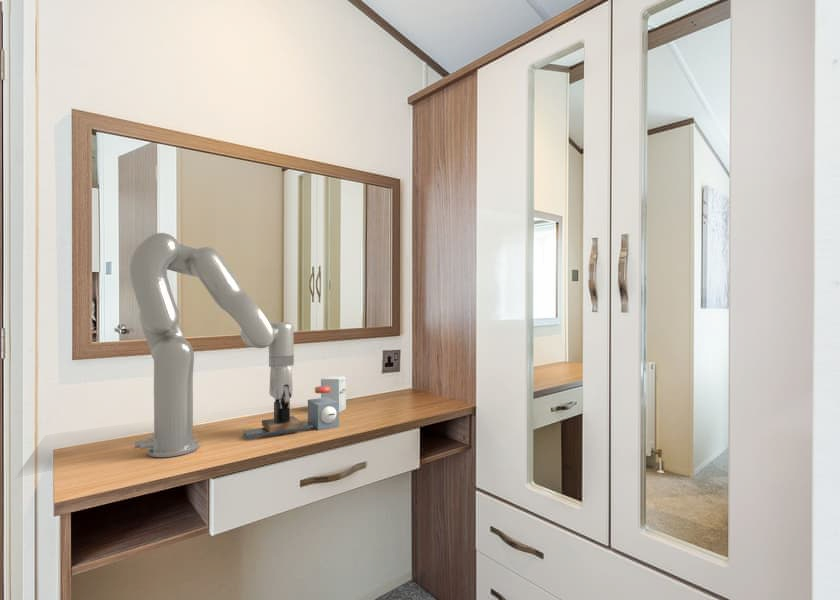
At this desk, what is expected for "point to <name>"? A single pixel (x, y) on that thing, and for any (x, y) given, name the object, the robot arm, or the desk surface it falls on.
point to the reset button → (322, 389)
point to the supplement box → (336, 390)
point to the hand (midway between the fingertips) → (282, 418)
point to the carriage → (275, 425)
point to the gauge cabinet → (323, 413)
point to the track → (265, 433)
